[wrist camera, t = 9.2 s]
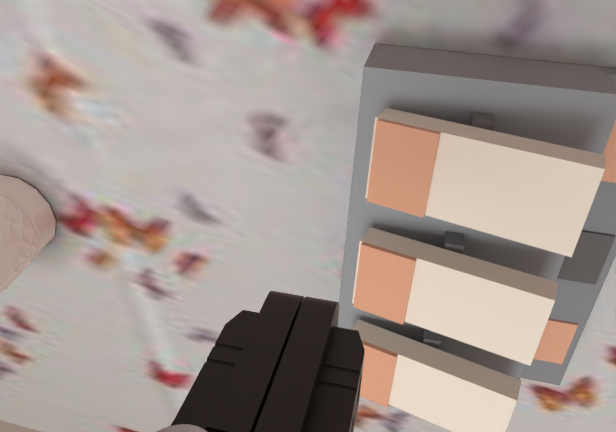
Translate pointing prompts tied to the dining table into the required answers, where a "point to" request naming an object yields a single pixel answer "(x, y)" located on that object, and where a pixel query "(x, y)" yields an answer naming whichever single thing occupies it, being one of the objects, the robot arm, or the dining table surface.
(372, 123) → the switch unit
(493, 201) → the block
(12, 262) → the white cup
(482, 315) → the rocker
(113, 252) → the dining table surface
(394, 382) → the rocker
